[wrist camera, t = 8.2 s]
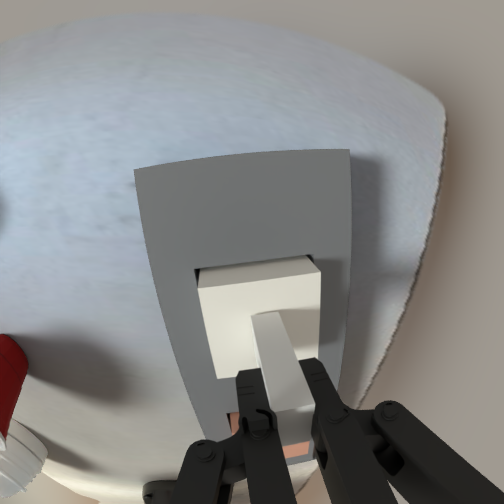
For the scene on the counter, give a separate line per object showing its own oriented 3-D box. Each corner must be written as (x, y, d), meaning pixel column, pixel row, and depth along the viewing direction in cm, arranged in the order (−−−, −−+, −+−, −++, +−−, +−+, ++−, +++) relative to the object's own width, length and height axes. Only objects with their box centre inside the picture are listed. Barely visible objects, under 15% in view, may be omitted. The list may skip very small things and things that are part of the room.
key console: (312, 428, 29) (323, 457, 25) (220, 442, 28) (222, 474, 24) (319, 151, 19) (349, 149, 14) (154, 167, 18) (133, 169, 13)
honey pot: (6, 436, 27) (-17, 492, 10) (-13, 402, 24) (-47, 465, 7) (54, 461, 30) (36, 525, 13) (38, 433, 26) (11, 509, 9)
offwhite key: (301, 329, 20) (317, 362, 16) (216, 341, 19) (217, 378, 16) (299, 248, 18) (320, 271, 14) (201, 261, 17) (197, 288, 14)
